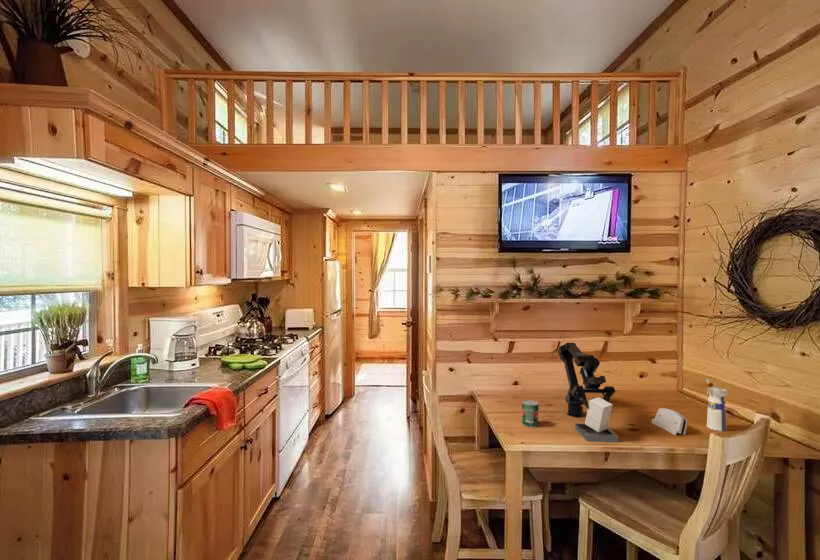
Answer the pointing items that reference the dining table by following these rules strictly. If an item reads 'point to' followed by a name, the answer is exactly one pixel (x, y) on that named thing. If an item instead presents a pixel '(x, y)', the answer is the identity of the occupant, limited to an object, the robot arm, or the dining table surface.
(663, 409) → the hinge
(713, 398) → the white tall bottle
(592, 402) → the supplement box
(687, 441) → the dining table surface
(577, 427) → the square collar
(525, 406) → the canned tomato
